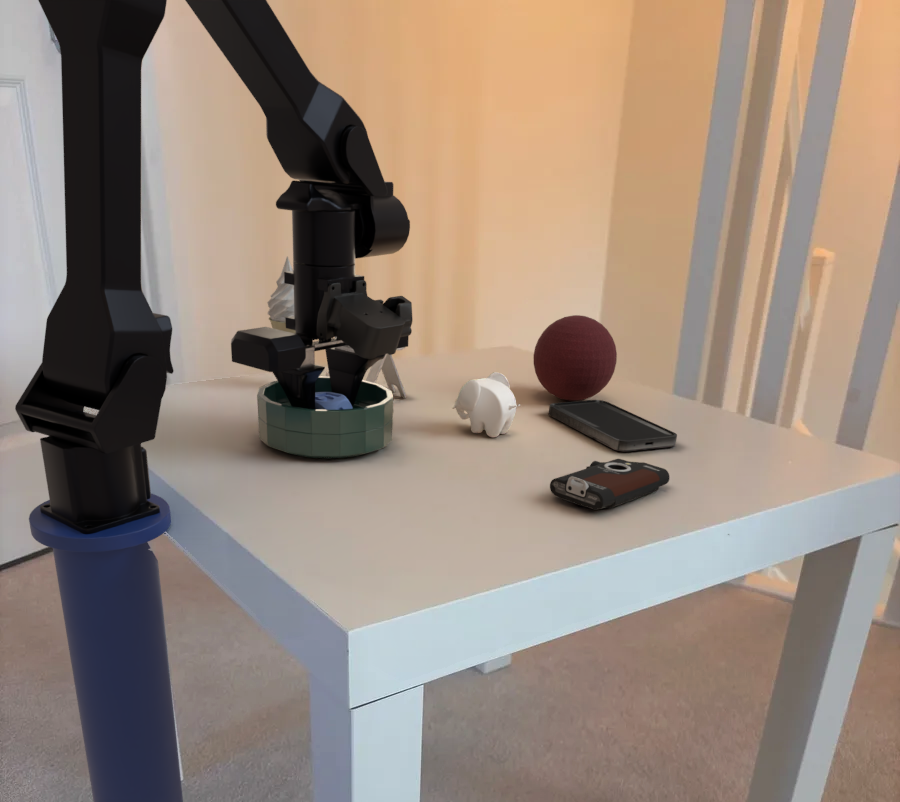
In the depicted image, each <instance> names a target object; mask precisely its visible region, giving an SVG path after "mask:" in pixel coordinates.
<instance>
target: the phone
mask: <svg viewBox="0 0 900 802" xmlns="http://www.w3.org/2000/svg"><path fill="white" fill-rule="evenodd" d="M548 416H550V417H551V418H553V419H555V420H557V421H559V422H561V423H563V424H564V425H567V426H568V427H570V428H572V429H573V430H576V431H578V432H580V433H581V434H583V435H586V436H587V437H589V438H591V439H593V440H595V441H597V442H599V443H600V444H603V445H605V446H607V447H609V448H611V449H612V450H613V451H614V450H615V451H618V452H623V453H624V452H626V453H628V452H636V451H637V452H638V451H646V450H654V449H655V450H656V449H664V448H665V449H666V448H673V447H676V445H677V444H676V443H677V438H678V434H677V433H676V432H674V431H672V430H670V429H668V428H665V427H664V426H661V425H659V424H656V423H655V422H652V421H650V420H648V419H646V418H644V417H641V416H639V415H637V414H634V413H633V412H630V411H628V410H626V409H625V408H622V407H619V406H617V405H616V404H613V403H610V402H609V401H606V400H603V399H602V400H601V399H589V400H587V399H586V400H579V401H564V402H563V401H561V402H553V403H550V404H549V405H548Z"/></svg>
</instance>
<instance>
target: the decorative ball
mask: <svg viewBox="0 0 900 802" xmlns="http://www.w3.org/2000/svg"><path fill="white" fill-rule="evenodd" d="M617 359H618V354H617V346H616V343H615V340H614V338H613V336H612V334H611V333H610V332H609V330H608V328H606V327H605V326H604V325H603V324H602V323H601V322H599V321H598V320H596V319H595V318H592V317H589V316H586V315H580V314H579V315H578V314H576V315H573V314H572V315H568V316H564V317H561V318H559V319H557V320H555V321H553V322H552V323H550V324H549V325H548V326H546V328H545V329H544V330H543V332H542V333H541V335H540V336H539V338H538V339H537V342H536V344H535V347H534V352H533V368H534V372H535V375H536V377H537V380H538V382H539V383H540V384H541V386H542V387H543V389H545V390H546V391H547V392H548V393H549V394H551V395H553V396H554V397H556V398H557V399H560V400H564V401H567V402H574V401H585V400H587V399H590V398H592V397H594V396H595V395H597V394H599V393H600V392H601V391H602V390H604V388H605V387H606V386H607V385H608V384H609V382H610V381H611V379H612V378H613V375H614V374H615V370H616V366H617Z"/></svg>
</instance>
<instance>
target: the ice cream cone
mask: <svg viewBox="0 0 900 802" xmlns="http://www.w3.org/2000/svg"><path fill="white" fill-rule="evenodd" d="M289 271H293V265H292V264H291V261H290V259H289V256H286V258H285V261H284V264H283V267H282V270H281V273H280V276H279V277H278V279H277V280H276V285H277V287H276V289H275V290H274V291H273V292H272V294H270V298H269V300H268V301H267V302H266V303H267V307H268V308H269V309H268V311H267V315H268V316H269V317H268V320H269V321H270V325H271V328H274V329H278V330H282V331H286V332H290V333H295V330H292V329H287V328H286V320H285V317H291V316H294V285H291V284H286V283H284V272H289Z"/></svg>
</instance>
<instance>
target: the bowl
mask: <svg viewBox="0 0 900 802" xmlns="http://www.w3.org/2000/svg"><path fill="white" fill-rule="evenodd" d="M315 392H332V389H331V383H330V377H327V376H326V375H324V376H323V375H320V376H319V377H318V378H317V380H316V384H315ZM256 400H257V422H258V423H257V424H258V438H259V440H260V441H262V442H263V443H264V444H265V445H266V446H267V447H269V448H273V449H275V450H278V451H281V452H284V453H287V454H290V455H294V456H298V457H302V458H310V459H344V458H352V457H353V458H354V457H358V456H362V455H365V454H369V453H372V452H376V451H377V450H381V449H384V448H385V447H386V446H388V445H389V444H390V443H391V442H392V441H393V426H394V425H393V424H394V420H393V419H394V396H393V391H391V390H390V389H389V388H388V387H386V386H384V385H382V384H380V383H376V382H375V383H372V382H369V381H366V379H365V380H364V379H363V380H362V382H361V385H360V388H359V390H358V393H357V396H356V399H355V402H354V405H353V409H342V410H323V409H306V408H299V407H292V406H291V404H290V402H289V400H288V398H287V396H286V394H285V392H284V390H283V389H282V387H281V385H280V384H279V382H278V380H274V381H270V382H268V383H266V384H264V385H263V386H260V387H259V388H258V391H257V395H256Z"/></svg>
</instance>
